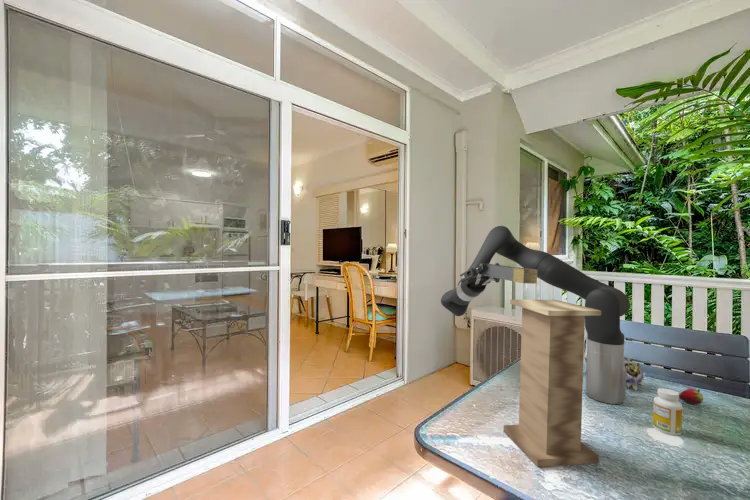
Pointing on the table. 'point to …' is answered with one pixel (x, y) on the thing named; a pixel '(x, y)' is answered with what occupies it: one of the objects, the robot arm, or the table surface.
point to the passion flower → (633, 374)
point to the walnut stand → (551, 383)
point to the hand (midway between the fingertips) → (492, 265)
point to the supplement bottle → (667, 412)
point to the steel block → (511, 273)
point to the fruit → (691, 396)
